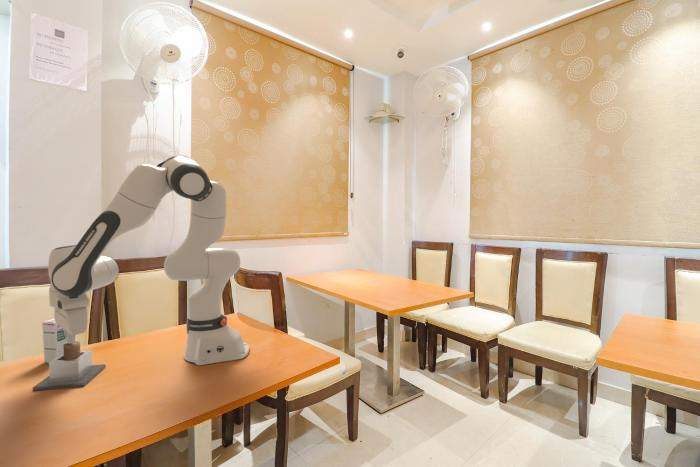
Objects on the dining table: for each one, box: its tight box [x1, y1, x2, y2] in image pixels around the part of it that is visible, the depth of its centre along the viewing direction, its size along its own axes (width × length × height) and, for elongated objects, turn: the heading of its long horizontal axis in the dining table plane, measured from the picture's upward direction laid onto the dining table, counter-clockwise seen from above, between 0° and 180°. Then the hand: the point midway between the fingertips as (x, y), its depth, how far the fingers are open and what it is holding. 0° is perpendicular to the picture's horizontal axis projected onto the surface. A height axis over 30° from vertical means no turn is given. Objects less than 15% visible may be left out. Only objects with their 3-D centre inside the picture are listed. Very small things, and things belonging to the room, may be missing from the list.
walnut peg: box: [63, 340, 81, 360], centre depth 106 cm, size 4×4×10 cm
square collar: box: [32, 350, 106, 392], centre depth 106 cm, size 13×13×7 cm
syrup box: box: [41, 318, 67, 364], centre depth 119 cm, size 6×6×14 cm
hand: (70, 342), depth 105 cm, fingers closed
